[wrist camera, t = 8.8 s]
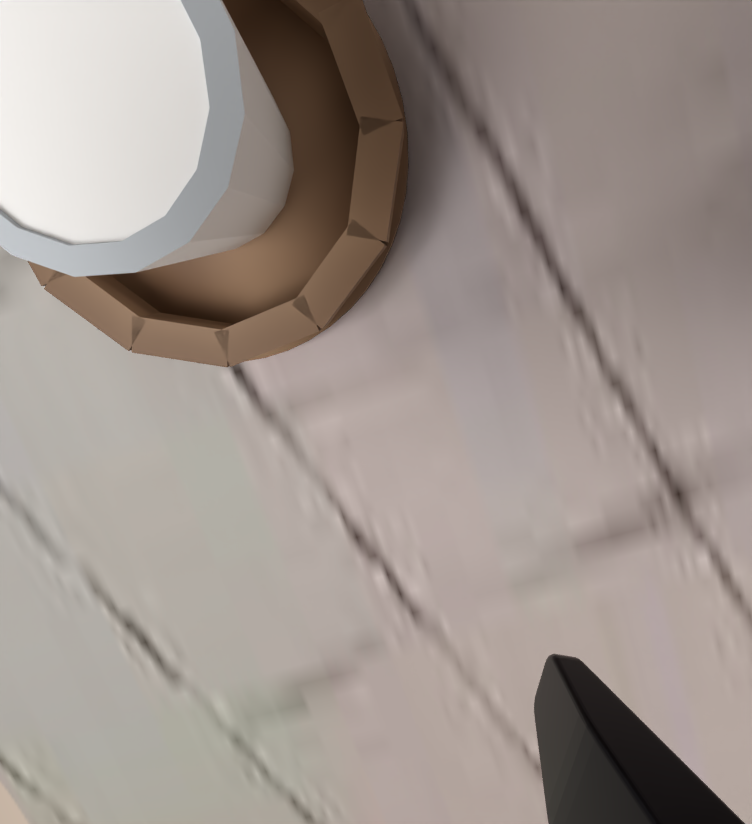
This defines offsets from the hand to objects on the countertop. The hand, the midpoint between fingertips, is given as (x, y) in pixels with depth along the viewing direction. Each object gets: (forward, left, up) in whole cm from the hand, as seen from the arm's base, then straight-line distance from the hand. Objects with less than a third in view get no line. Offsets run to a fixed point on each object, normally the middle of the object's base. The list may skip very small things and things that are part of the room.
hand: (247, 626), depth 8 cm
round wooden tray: (+5, -8, -12) cm, 15 cm away
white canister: (+5, -8, -11) cm, 15 cm away
